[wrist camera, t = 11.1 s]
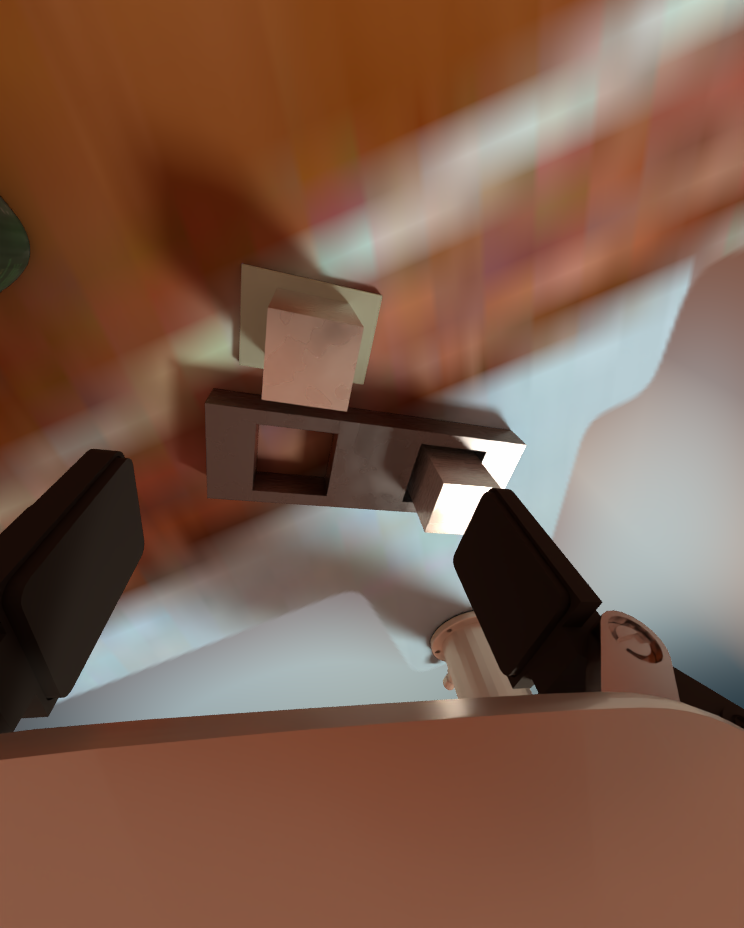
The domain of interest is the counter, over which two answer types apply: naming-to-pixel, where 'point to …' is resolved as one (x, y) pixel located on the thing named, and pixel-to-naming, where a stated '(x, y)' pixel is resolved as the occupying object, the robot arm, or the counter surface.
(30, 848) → the robot arm
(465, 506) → the brown wooden block
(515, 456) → the board with square holes
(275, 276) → the mat
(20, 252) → the coffee jar
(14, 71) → the counter surface
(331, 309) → the pale pink rectangular block
